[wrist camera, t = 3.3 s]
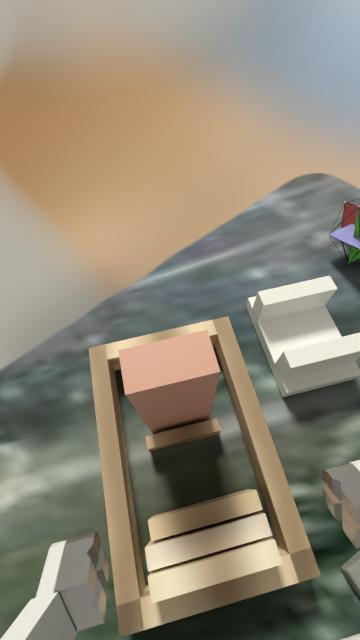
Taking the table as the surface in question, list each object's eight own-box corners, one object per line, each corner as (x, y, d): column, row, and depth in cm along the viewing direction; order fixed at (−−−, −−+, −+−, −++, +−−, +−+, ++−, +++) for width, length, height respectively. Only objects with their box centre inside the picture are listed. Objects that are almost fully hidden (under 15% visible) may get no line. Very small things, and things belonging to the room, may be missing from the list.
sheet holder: (282, 397, 28) (297, 383, 24) (245, 305, 33) (253, 280, 29) (353, 379, 29) (379, 362, 25) (308, 291, 33) (323, 265, 29)
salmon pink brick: (153, 433, 27) (125, 394, 16) (147, 405, 28) (118, 350, 17) (208, 419, 28) (220, 371, 16) (201, 392, 29) (207, 329, 17)
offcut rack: (128, 619, 21) (112, 653, 17) (97, 360, 31) (81, 338, 26) (305, 565, 22) (333, 584, 18) (224, 330, 32) (230, 305, 27)
